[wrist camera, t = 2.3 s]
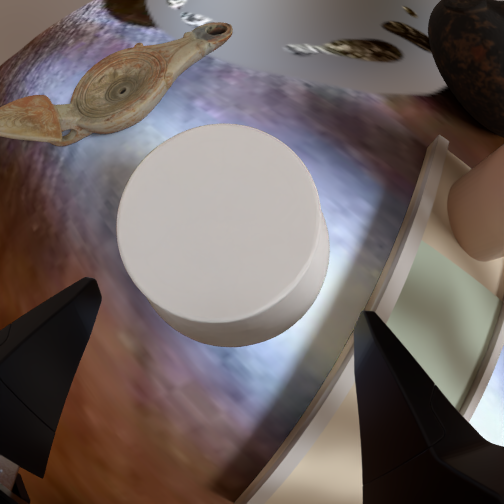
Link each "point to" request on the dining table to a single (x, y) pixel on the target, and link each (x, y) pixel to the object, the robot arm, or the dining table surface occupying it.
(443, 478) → the robot arm
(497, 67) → the glass bottle
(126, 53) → the oil lamp
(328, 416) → the rail board
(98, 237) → the dining table surface
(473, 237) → the terracotta post
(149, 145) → the dining table surface
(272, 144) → the supplement bottle
